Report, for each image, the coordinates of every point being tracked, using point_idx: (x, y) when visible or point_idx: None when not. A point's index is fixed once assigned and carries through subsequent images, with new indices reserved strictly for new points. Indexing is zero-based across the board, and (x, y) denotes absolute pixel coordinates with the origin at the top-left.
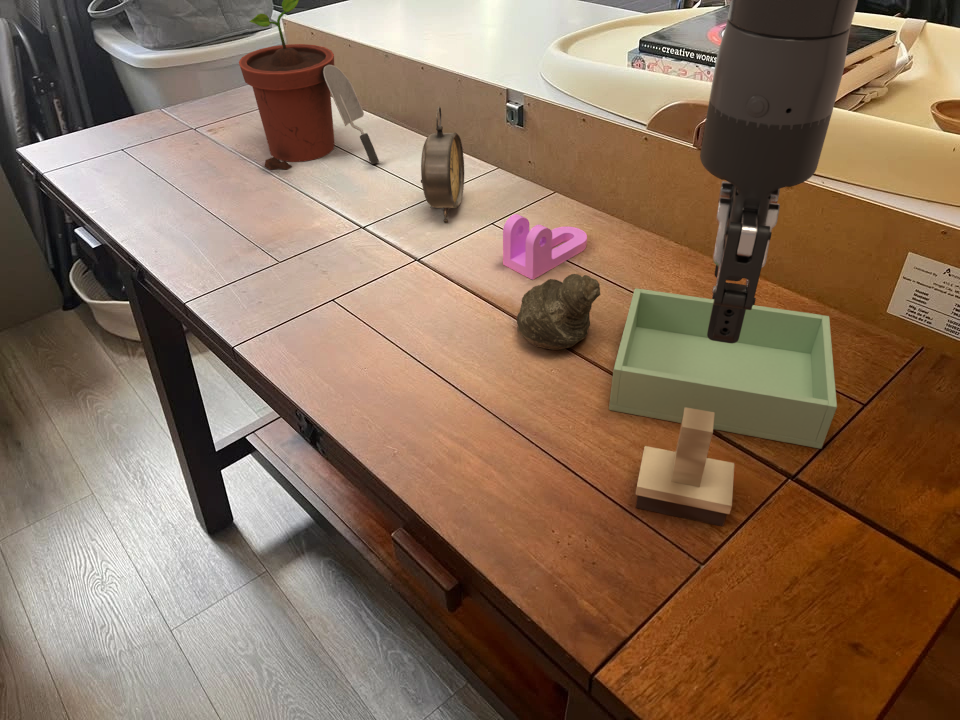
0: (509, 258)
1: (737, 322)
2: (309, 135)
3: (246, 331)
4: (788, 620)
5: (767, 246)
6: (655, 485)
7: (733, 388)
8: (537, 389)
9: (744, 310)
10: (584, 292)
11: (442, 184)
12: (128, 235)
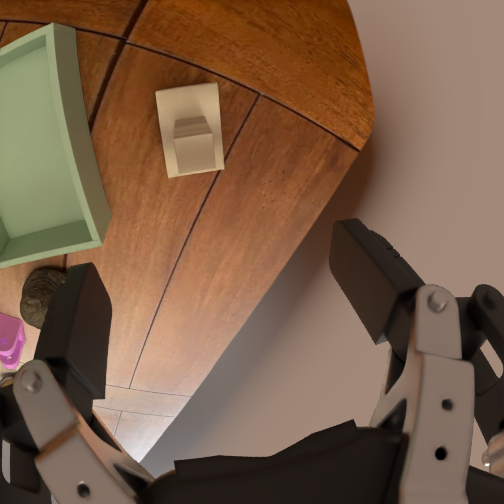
0: (22, 342)
1: (404, 261)
2: None
3: (179, 398)
4: (292, 29)
5: (469, 424)
6: (217, 154)
7: (65, 128)
8: (121, 273)
9: (403, 271)
10: (39, 309)
11: None
12: (152, 440)
